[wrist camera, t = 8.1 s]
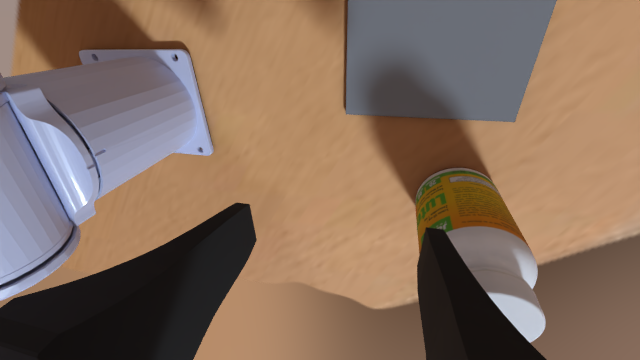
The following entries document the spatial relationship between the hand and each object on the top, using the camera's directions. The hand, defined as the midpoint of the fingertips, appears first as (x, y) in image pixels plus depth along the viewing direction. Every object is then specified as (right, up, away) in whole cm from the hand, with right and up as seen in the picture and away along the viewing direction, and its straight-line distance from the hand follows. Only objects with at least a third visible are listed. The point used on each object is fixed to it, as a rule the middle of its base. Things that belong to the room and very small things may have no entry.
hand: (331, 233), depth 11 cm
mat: (+6, +11, +4) cm, 13 cm away
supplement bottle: (+9, +1, +9) cm, 13 cm away
